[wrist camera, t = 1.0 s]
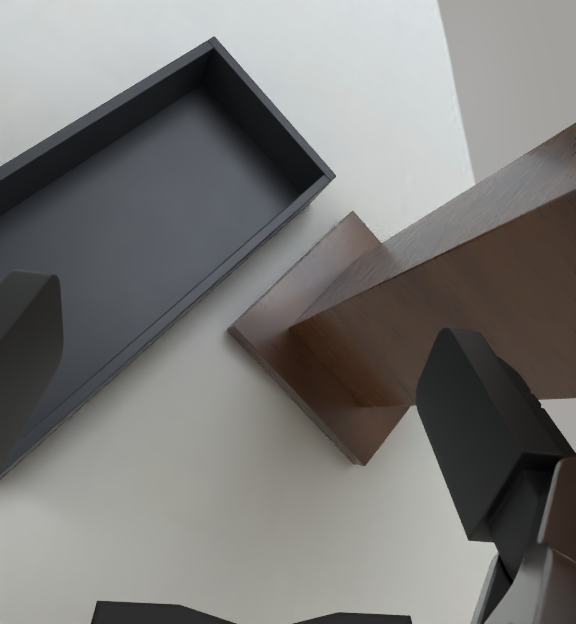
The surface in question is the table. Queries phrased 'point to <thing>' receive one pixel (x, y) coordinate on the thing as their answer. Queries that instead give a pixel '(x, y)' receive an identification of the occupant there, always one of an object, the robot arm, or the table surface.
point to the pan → (148, 213)
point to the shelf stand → (427, 300)
